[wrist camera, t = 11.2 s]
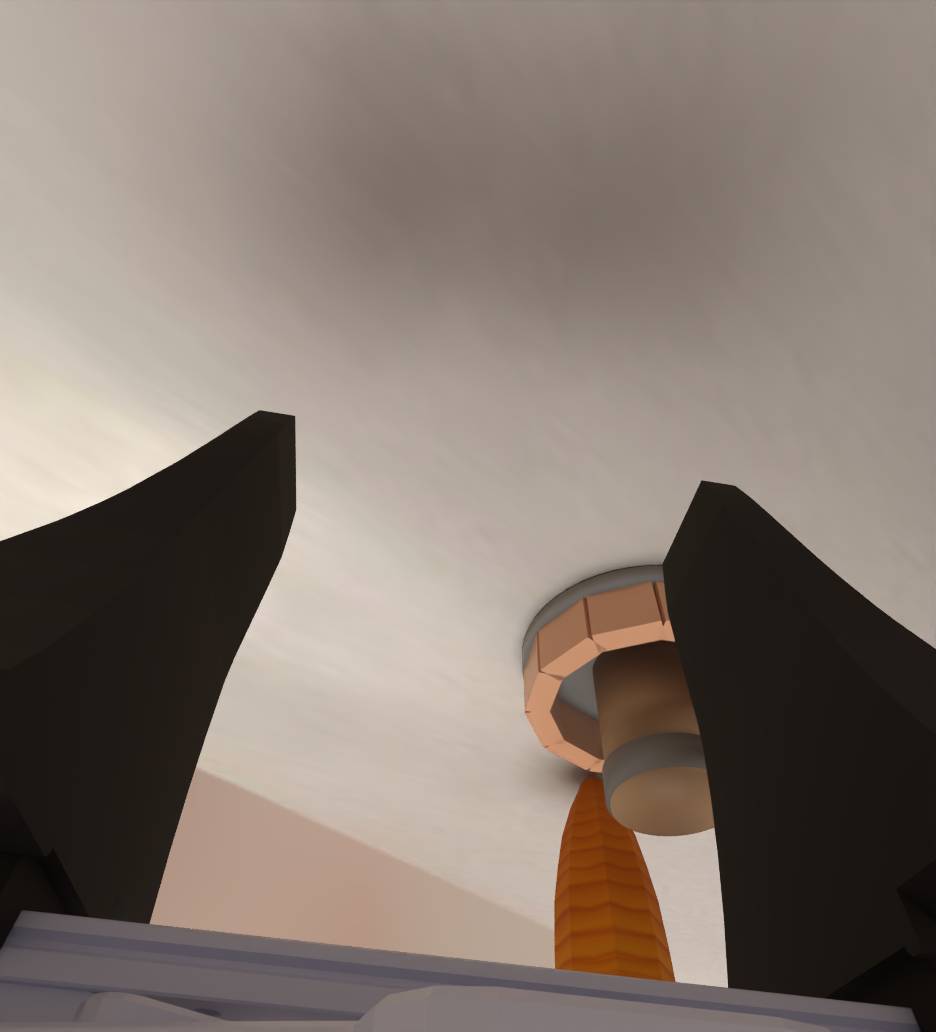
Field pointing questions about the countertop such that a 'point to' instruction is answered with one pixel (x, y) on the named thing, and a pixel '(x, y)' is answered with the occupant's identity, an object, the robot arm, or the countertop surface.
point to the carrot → (606, 897)
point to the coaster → (586, 654)
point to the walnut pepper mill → (651, 742)
